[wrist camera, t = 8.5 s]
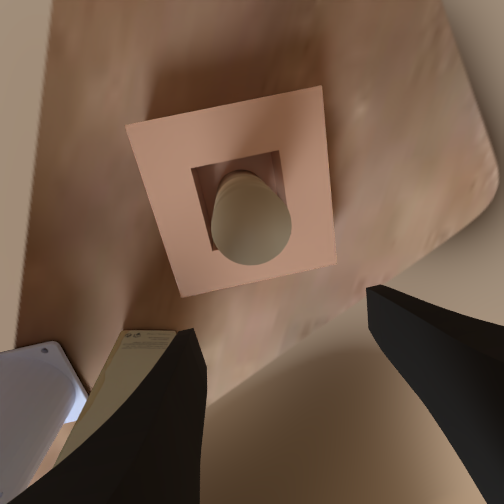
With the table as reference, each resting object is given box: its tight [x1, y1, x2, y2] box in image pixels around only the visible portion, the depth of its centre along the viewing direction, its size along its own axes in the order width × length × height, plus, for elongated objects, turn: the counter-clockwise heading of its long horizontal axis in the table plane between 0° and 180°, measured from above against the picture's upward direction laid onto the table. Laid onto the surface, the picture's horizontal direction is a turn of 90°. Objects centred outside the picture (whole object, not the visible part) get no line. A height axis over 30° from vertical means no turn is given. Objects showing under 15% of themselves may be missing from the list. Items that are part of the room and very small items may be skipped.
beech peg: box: [211, 169, 292, 265], centre depth 15 cm, size 3×3×8 cm
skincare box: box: [52, 330, 176, 469], centre depth 18 cm, size 6×4×12 cm
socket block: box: [125, 85, 337, 298], centre depth 17 cm, size 10×10×4 cm
